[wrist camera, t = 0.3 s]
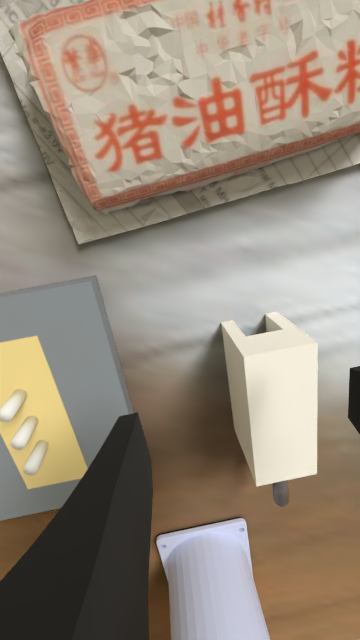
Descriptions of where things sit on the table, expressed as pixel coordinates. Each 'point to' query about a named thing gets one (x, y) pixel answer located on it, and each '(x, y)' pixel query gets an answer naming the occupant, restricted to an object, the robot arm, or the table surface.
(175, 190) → the packaged product
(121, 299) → the table surface
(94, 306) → the board
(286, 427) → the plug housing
